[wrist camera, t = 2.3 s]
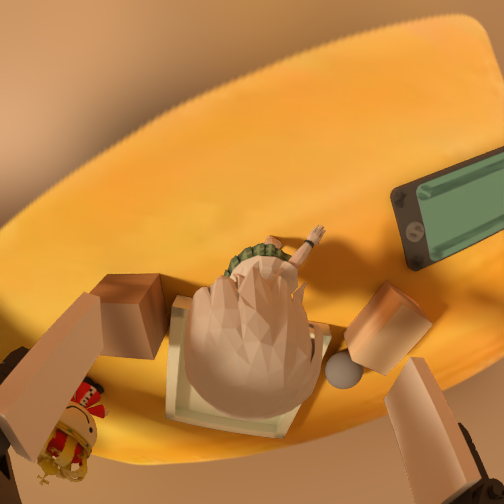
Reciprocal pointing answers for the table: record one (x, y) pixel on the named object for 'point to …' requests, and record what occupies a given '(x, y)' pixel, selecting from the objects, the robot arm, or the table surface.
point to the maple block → (386, 329)
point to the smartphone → (450, 209)
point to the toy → (73, 434)
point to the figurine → (254, 335)
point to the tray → (190, 402)
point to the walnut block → (132, 315)
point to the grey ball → (343, 371)
